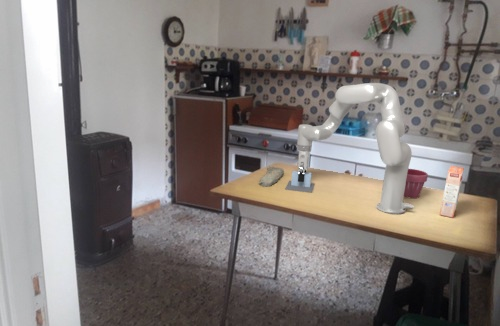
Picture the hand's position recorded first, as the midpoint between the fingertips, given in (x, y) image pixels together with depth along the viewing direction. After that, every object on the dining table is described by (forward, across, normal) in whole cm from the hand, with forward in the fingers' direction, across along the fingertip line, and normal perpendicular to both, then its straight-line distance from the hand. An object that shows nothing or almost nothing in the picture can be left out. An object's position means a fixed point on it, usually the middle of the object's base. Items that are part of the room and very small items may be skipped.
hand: (301, 179), depth 207 cm
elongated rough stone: (+4, +8, +18) cm, 20 cm away
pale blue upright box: (+3, 0, 0) cm, 3 cm away
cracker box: (+5, -15, -70) cm, 71 cm away
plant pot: (+5, +6, -56) cm, 56 cm away
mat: (+4, -2, 0) cm, 4 cm away
